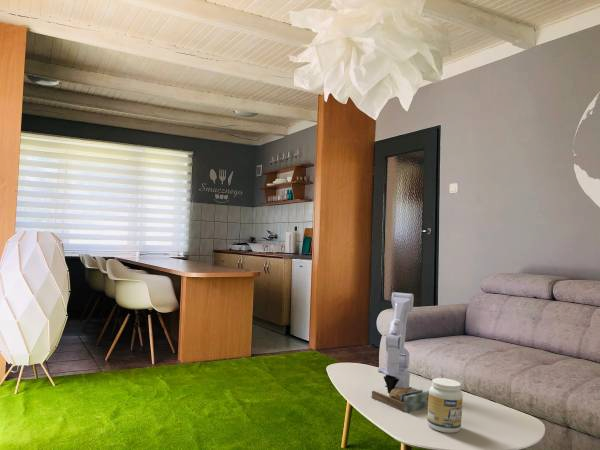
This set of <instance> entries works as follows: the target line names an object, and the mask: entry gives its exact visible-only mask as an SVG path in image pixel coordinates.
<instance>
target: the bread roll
mask: <svg viewBox="0 0 600 450" xmlns="http://www.w3.org/2000/svg"><path fill="white" fill-rule="evenodd" d="M408 392H409V389H408V388H407V389H406V388H403V387H399V388H395V389H393V390H391V392H390V394H389V393H388V395H389V396H388V397H391V398H393V399H396V400H398V401H400V394H403V393H408Z"/></svg>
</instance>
